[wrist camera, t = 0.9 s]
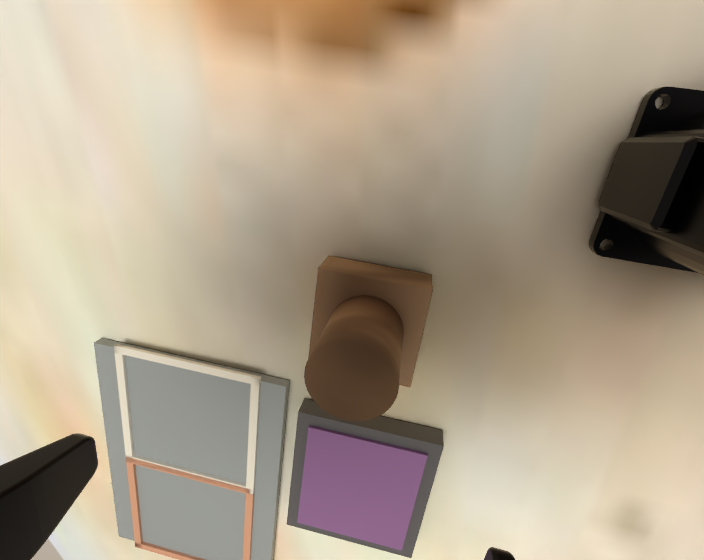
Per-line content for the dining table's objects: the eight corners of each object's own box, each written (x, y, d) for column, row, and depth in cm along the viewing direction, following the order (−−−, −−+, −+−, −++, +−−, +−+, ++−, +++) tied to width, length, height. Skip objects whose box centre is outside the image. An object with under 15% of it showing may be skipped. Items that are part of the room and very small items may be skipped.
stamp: (431, 271, 18) (436, 334, 12) (411, 358, 20) (407, 451, 14) (331, 252, 19) (288, 305, 13) (320, 339, 21) (278, 421, 15)
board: (289, 376, 22) (285, 384, 21) (272, 573, 28) (267, 585, 27) (101, 333, 23) (90, 340, 22) (124, 531, 29) (117, 541, 29)
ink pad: (442, 430, 21) (443, 448, 20) (411, 539, 24) (411, 561, 23) (304, 398, 22) (297, 414, 21) (292, 507, 25) (285, 527, 24)
